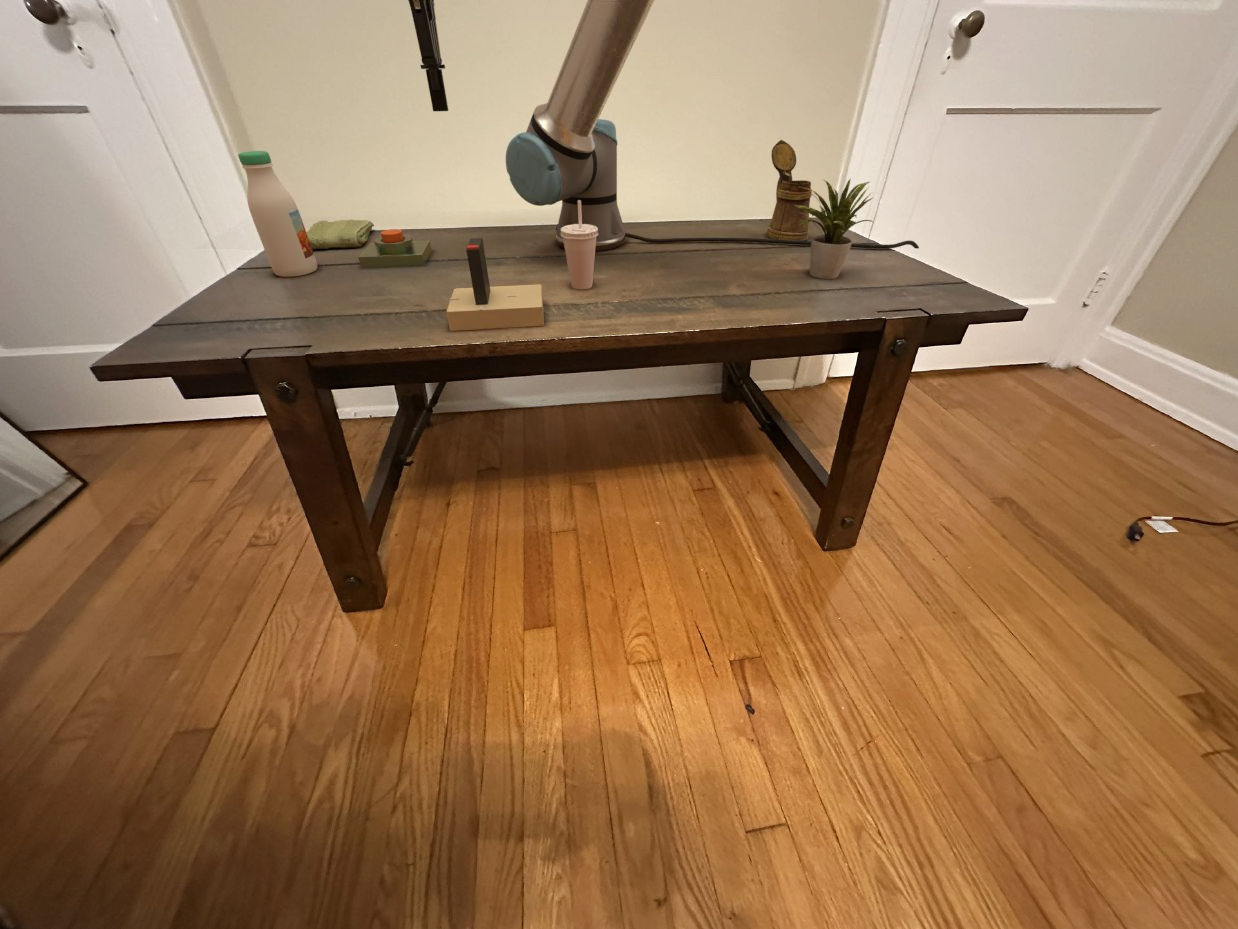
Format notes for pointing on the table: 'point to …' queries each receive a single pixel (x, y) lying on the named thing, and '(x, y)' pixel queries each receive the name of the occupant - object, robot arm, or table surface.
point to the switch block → (395, 253)
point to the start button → (392, 235)
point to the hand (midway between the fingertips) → (440, 110)
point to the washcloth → (339, 234)
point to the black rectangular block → (478, 270)
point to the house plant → (833, 230)
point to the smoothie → (580, 251)
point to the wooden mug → (788, 198)
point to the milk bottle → (276, 218)
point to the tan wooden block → (497, 308)
